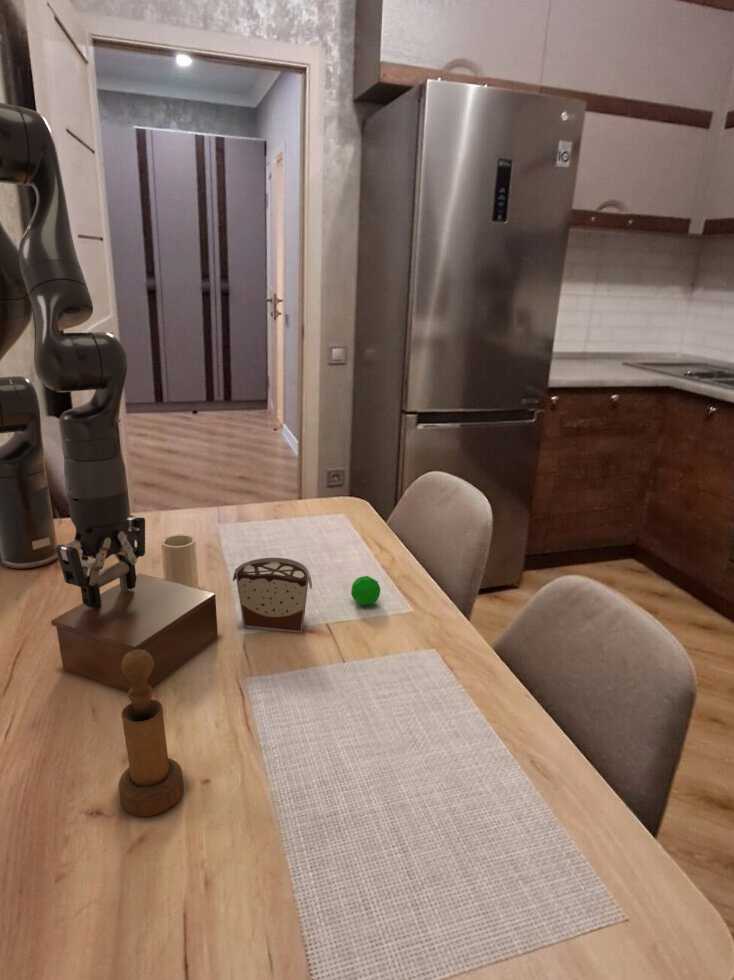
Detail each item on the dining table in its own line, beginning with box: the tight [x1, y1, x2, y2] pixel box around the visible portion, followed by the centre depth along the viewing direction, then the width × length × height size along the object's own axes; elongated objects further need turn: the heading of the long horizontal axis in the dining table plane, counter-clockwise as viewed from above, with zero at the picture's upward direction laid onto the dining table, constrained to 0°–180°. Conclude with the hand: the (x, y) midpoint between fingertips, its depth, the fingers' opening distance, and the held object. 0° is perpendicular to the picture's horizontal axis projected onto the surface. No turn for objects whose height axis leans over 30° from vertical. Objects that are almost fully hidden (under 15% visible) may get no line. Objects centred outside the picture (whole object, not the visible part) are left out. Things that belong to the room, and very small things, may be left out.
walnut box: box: [56, 598, 219, 693], centre depth 96 cm, size 14×17×7 cm
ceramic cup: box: [160, 533, 200, 589], centre depth 112 cm, size 5×5×10 cm
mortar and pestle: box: [118, 650, 185, 817], centre depth 69 cm, size 7×6×18 cm
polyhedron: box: [350, 575, 381, 606], centre depth 114 cm, size 5×5×5 cm
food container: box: [232, 557, 313, 634], centre depth 106 cm, size 12×6×10 cm, turn 84°
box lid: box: [50, 561, 217, 651], centre depth 94 cm, size 14×17×6 cm
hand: (111, 596), depth 96 cm, fingers closed on box lid, 6 cm apart
